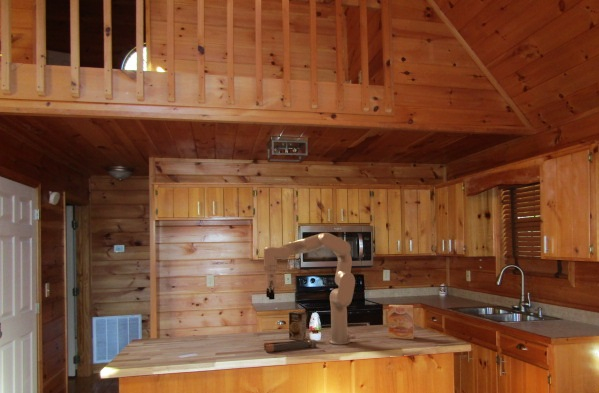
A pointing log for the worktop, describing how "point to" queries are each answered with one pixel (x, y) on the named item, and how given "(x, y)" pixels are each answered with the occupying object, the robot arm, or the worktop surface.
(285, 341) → the arm
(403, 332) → the coffeecake box
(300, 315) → the coffee box
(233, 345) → the worktop surface
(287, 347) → the tongs moving arm
